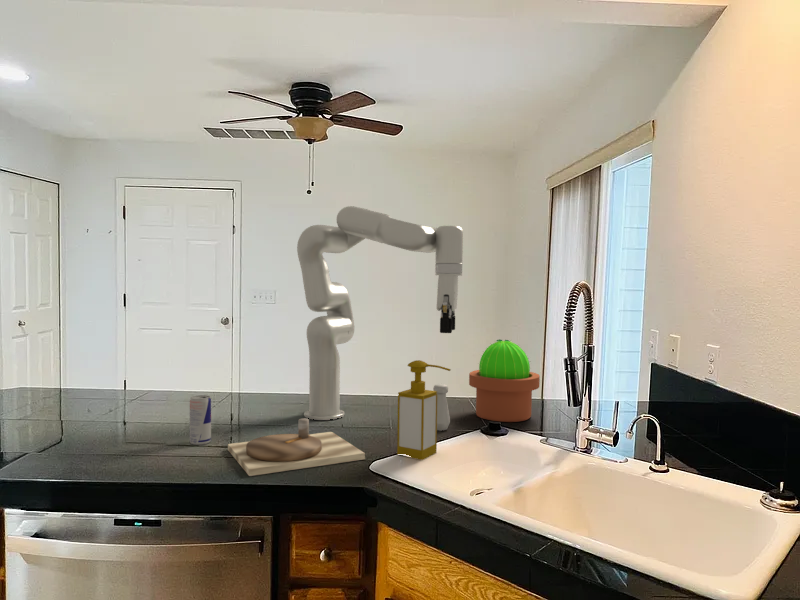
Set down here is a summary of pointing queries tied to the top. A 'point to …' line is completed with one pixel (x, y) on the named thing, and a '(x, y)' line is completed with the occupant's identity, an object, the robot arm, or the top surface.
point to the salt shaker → (442, 407)
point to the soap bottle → (417, 416)
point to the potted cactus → (504, 383)
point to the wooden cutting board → (330, 454)
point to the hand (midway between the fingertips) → (447, 331)
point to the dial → (285, 445)
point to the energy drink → (200, 420)
